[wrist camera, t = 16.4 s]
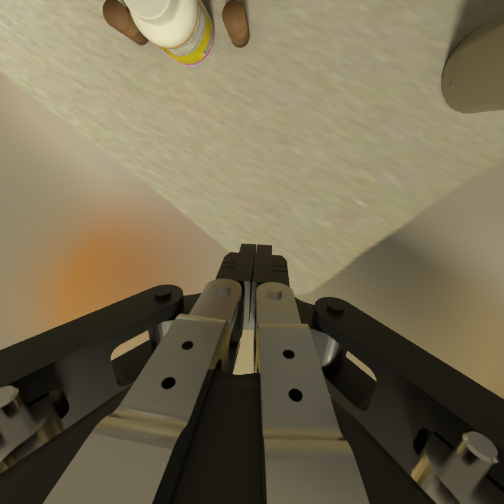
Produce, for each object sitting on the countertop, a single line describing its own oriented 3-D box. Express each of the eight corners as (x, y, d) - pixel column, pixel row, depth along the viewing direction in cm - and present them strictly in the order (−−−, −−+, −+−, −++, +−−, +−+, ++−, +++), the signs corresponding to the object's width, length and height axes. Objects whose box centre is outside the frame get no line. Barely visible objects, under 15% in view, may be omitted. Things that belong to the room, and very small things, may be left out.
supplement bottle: (156, 15, 32) (88, -55, 20) (204, -9, 30) (161, -97, 19) (177, 75, 34) (129, 45, 23) (223, 56, 33) (196, 14, 21)
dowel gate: (249, 23, 31) (245, 0, 26) (249, 47, 32) (244, 30, 27) (129, 21, 32) (100, -2, 27) (132, 44, 33) (105, 27, 28)
